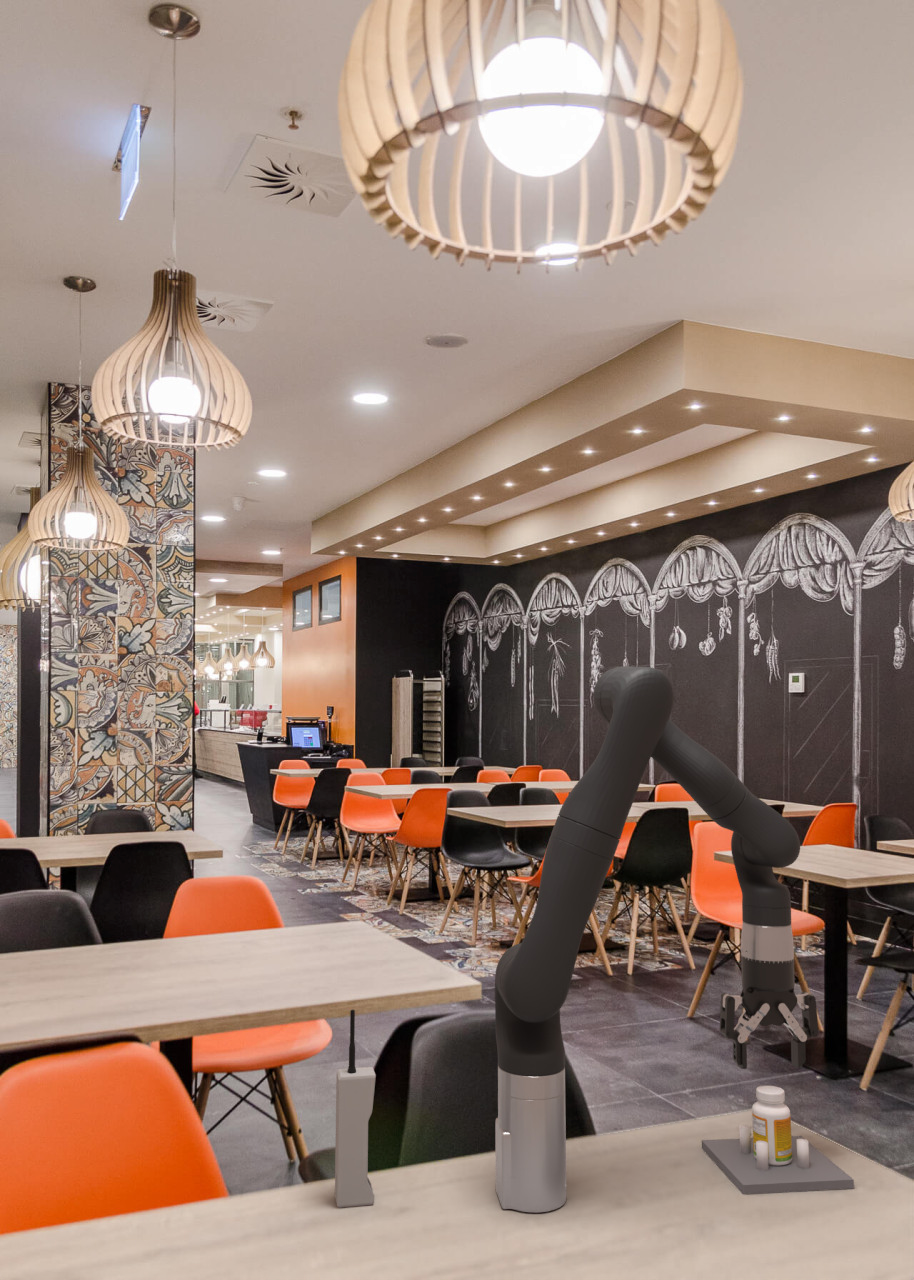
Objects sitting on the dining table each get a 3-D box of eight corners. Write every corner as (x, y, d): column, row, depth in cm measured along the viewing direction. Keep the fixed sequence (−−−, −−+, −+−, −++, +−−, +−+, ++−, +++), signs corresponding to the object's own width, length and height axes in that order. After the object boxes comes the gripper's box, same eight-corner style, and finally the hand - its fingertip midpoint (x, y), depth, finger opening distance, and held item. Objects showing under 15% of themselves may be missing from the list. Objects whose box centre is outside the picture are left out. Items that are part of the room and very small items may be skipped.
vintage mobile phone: (374, 1205, 133) (376, 1011, 136) (336, 1208, 132) (339, 1013, 135) (371, 1193, 137) (373, 1004, 140) (334, 1196, 136) (337, 1006, 139)
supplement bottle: (793, 1154, 147) (790, 1085, 148) (791, 1168, 142) (789, 1097, 143) (754, 1149, 149) (752, 1081, 150) (752, 1163, 144) (749, 1093, 145)
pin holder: (743, 1194, 137) (742, 1158, 137) (701, 1148, 152) (700, 1116, 153) (854, 1188, 138) (852, 1153, 139) (801, 1143, 154) (800, 1111, 155)
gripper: (731, 959, 144) (733, 1076, 143) (824, 958, 146) (827, 1074, 144) (712, 949, 152) (713, 1060, 150) (801, 948, 153) (803, 1058, 152)
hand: (769, 1066), depth 147 cm, fingers open, 8 cm apart
